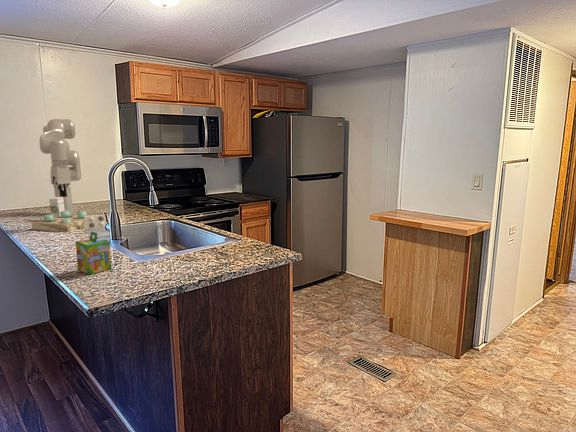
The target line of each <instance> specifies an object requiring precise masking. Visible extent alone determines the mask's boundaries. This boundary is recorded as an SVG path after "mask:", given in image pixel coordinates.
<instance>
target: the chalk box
mask: <svg viewBox="0 0 576 432" xmlns="http://www.w3.org/2000/svg"><path fill="white" fill-rule="evenodd" d="M89 236H90V237H89V239H83V240H77V241H75V251H76V252H75V253H76V263H77V271H79V272H82V273H83V274H86V275H87V276H91V275H95V274H97V273H103V272H106V271H109V270H110V271H111V270H112V260H111V258H112V257H111V246H110V241H109V240H107V239H104V238H102V237H98V232H95V231H90V235H89ZM93 236H94V238H93Z"/></svg>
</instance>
